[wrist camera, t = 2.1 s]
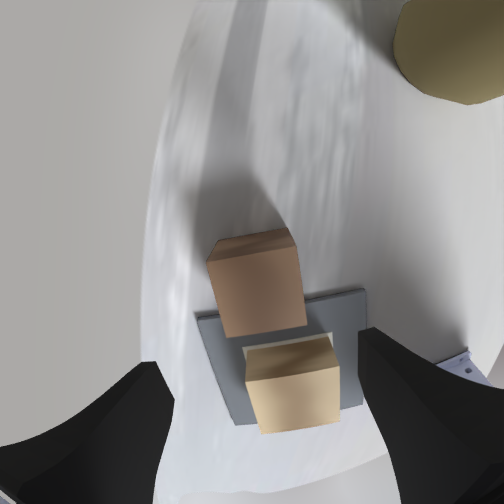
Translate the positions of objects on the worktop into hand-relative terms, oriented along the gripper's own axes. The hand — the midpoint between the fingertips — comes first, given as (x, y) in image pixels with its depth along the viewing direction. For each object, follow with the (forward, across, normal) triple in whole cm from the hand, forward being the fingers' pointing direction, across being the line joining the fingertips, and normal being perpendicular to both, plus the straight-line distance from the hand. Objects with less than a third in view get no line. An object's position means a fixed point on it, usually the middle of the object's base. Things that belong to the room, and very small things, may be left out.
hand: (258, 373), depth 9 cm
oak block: (+9, -1, +9) cm, 13 cm away
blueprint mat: (+10, -1, +9) cm, 13 cm away
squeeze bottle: (+10, -15, -13) cm, 23 cm away
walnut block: (+10, 0, 0) cm, 10 cm away
